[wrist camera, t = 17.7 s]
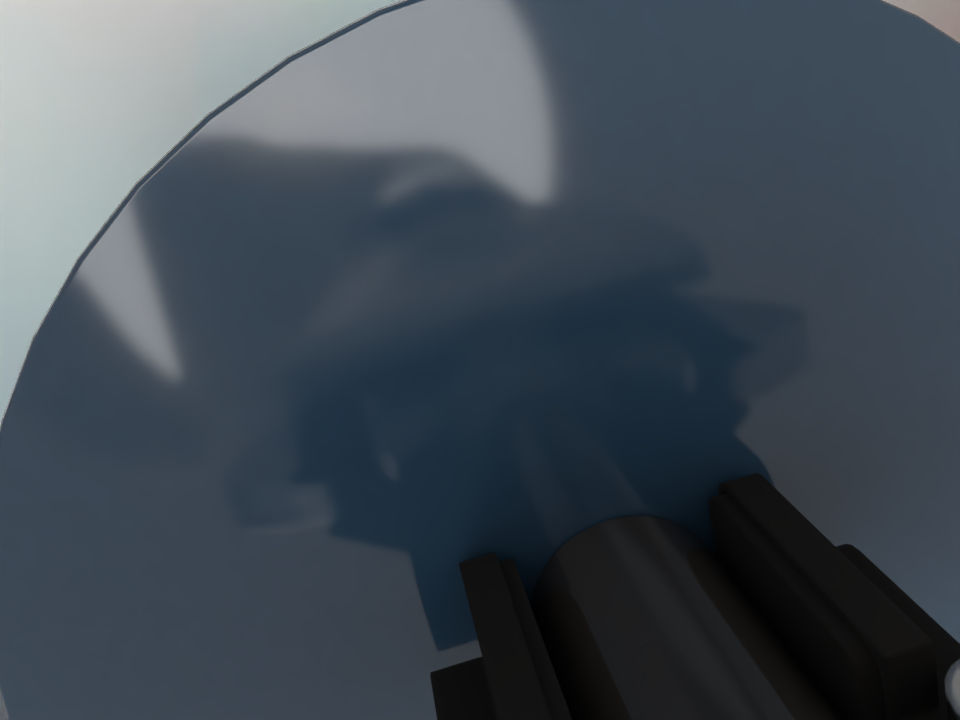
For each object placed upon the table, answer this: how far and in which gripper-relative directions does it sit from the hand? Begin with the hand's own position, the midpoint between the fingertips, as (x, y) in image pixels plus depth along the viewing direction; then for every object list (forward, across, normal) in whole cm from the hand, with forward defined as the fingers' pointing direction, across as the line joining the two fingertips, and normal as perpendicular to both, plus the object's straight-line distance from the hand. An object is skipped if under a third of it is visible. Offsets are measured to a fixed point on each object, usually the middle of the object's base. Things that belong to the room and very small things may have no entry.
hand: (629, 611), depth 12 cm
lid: (+1, 0, 0) cm, 1 cm away
